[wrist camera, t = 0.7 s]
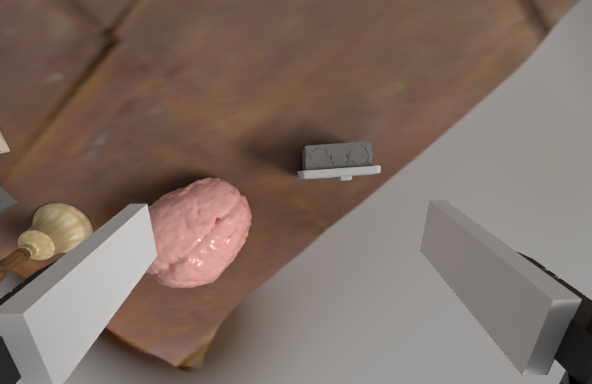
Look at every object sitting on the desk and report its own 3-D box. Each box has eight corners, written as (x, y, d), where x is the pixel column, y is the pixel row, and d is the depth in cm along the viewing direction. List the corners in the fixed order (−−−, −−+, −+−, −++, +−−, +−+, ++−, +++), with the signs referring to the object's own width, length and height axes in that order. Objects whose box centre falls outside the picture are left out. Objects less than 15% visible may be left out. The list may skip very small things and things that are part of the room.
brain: (209, 158, 44) (218, 156, 33) (260, 219, 48) (283, 236, 36) (118, 227, 40) (92, 251, 29) (180, 287, 44) (178, 329, 33)
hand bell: (51, 190, 40) (-86, 252, 26) (104, 225, 43) (7, 301, 28) (24, 229, 42) (-118, 308, 27) (76, 261, 45) (-29, 349, 30)
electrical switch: (297, 176, 41) (300, 193, 32) (294, 140, 40) (297, 147, 31) (361, 172, 41) (382, 187, 32) (361, 136, 40) (383, 141, 31)
